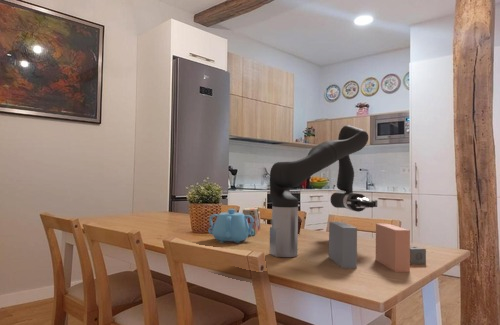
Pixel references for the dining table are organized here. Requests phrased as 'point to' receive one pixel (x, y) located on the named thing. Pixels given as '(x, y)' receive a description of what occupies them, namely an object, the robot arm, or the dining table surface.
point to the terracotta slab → (393, 247)
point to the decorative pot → (231, 226)
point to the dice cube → (417, 255)
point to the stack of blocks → (256, 217)
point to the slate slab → (343, 244)
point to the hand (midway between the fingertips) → (370, 204)
